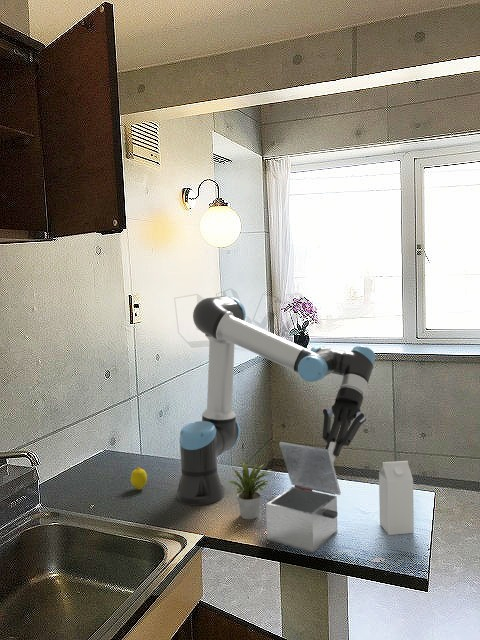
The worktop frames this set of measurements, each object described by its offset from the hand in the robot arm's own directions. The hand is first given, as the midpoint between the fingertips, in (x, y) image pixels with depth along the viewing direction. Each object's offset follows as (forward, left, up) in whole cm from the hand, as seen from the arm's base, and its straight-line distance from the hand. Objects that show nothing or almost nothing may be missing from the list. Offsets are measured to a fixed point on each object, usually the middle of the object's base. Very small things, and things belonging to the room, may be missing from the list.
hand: (327, 465), depth 153 cm
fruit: (-69, -4, -19) cm, 72 cm away
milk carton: (+15, +12, -19) cm, 27 cm away
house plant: (-24, -3, -19) cm, 31 cm away
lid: (-5, -1, -2) cm, 6 cm away
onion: (-16, +15, -19) cm, 29 cm away
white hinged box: (-5, -6, -19) cm, 20 cm away
